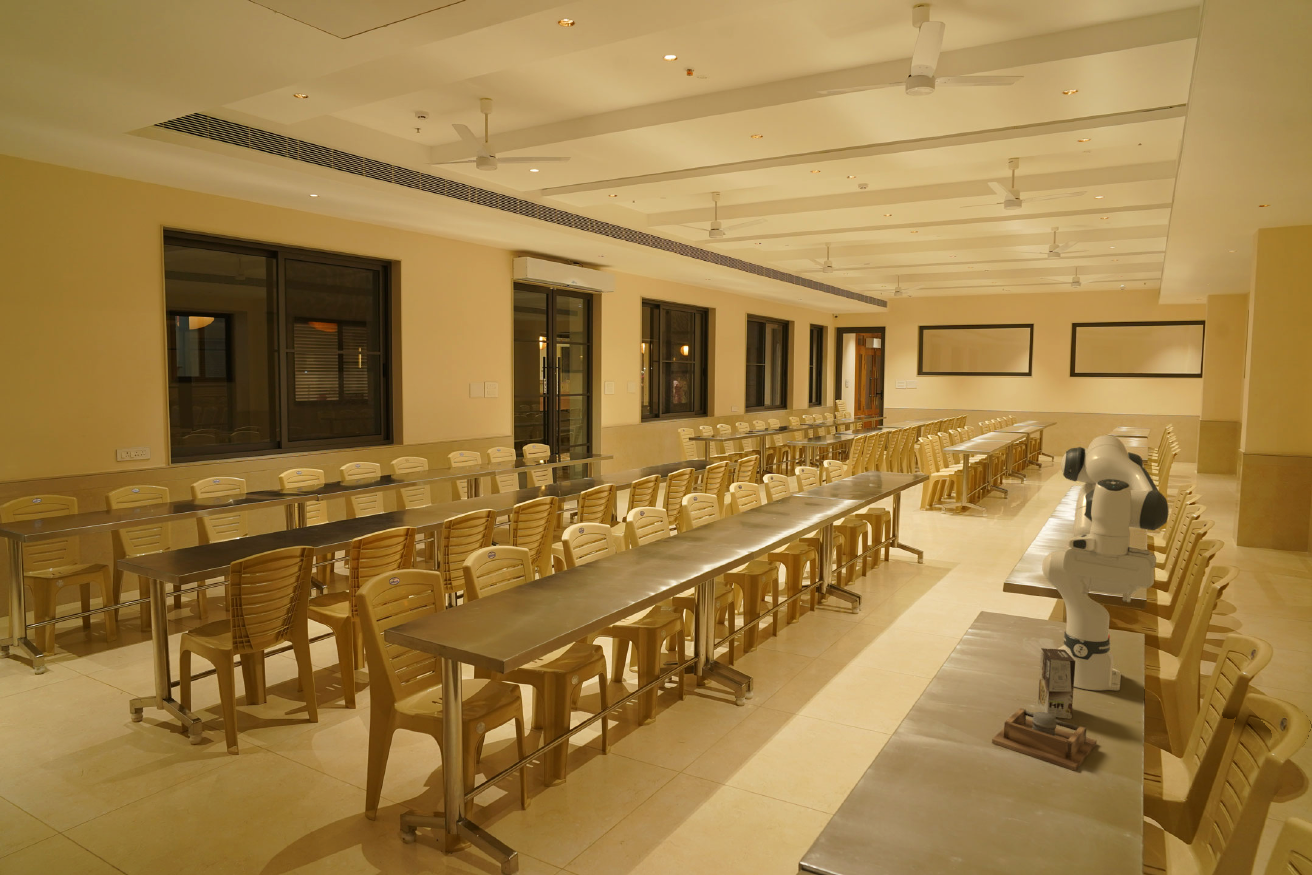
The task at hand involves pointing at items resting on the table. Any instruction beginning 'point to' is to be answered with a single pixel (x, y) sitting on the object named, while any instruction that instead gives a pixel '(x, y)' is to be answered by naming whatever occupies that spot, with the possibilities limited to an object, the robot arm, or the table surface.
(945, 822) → the table surface
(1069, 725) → the brown wooden open box
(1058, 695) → the coffee box
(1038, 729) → the stacked grey discs
